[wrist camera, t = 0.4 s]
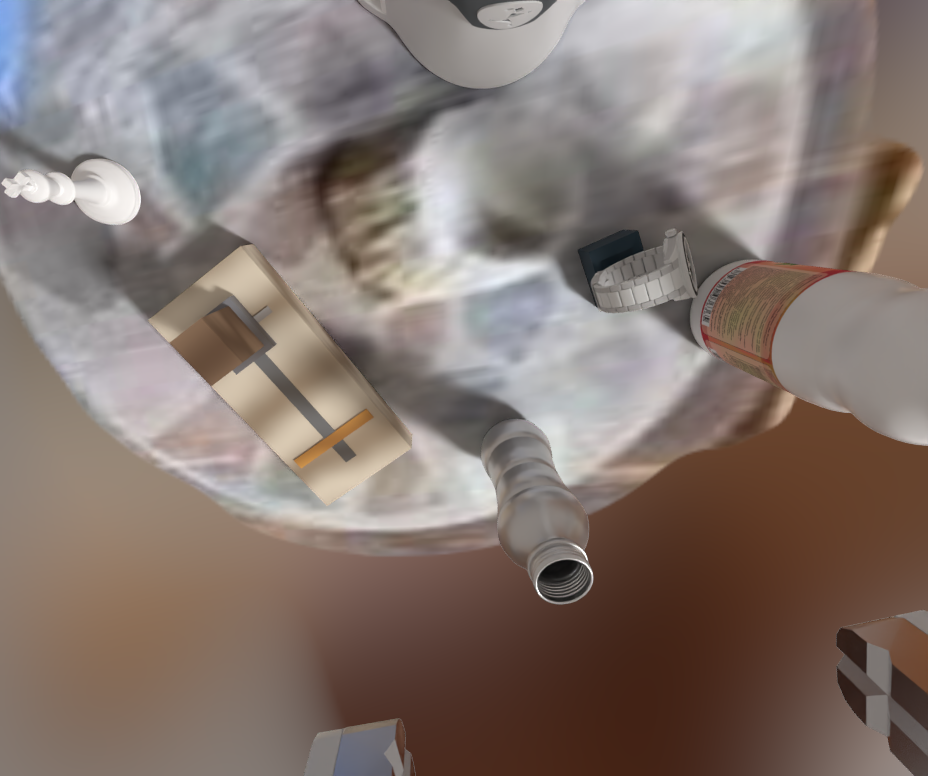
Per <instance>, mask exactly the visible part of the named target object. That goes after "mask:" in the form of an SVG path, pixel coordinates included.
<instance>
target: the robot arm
mask: <svg viewBox="0 0 928 776" xmlns="http://www.w3.org/2000/svg"><path fill="white" fill-rule="evenodd" d="M585 1H586V0H358V2H359V3H360V4H361V5H362V6H363V7H365V8H366V9H367V10H368V11H370V12H371V13H373V14H374V15H376V16H377V17H379V18H381V19H382V20H384V21H385V22H387V23H389V25H390V26H391V27H392V28H393V29H394V30H395V31H396V33H397V34H398V35H399V37H400V38H401V40H402V41H403V42H404V44H405V45H406V47H407V48H408V49H409V51H410V52H411V53H412V54H413V56H414V57H415V58H416V59H417V60H418V61H419V62H420V63H421V64H422V65H423V66H425V67H426V68H427V69H428V70H429V71H431V72H432V73H434V74H435V75H437V76H438V77H440V78H442V79H444V80H446V81H448V82H450V83H453V84H455V85H459V86H462V87H467V88H475V89H489V88H496V87H501V86H504V85H507V84H510V83H513V82H515V81H517V80H519V79H521V78H523V77H524V76H526V75H528V74H529V73H530V72H532V71H533V70H534V69H536V68H537V67H538V66H539V65H540V64H541V63H542V62H543V61H544V60H545V59H546V58H547V57H548V56H549V54H550V53H551V52H552V51H553V49H554V48H555V46H556V45H557V43H558V42H559V40H560V38H561V37H562V35H563V33H564V31H565V29H566V27H567V25H568V23H569V21H570V19H571V17H572V15H573V14H574V12H575V11H576V9H577V8H578V7H579V6H580V5H581V4H582V3H584V2H585ZM836 646H837V647H838V648H839V649H840V650H841V651H842V652H843V653H844V656H843V658H842V659H841V660H840V662H839V664H838V665H837V682H838V685H839V687H840V689H841V692H842V694H843V696H844V699H845V701H846V702H847V703H848V705H849V706H850V708H851V709H852V711H853V712H854V713H855V714H856V715H857V717H858V718H859V719H860V720H861V721H862V722H863V723H864V724H865V725H866V726H867V727H869V728H871V729H873V730H875V731H877V732H879V733H881V734H883V735H885V736H887V738H888V743H889V748H890V751H891V752H892V753H893V754H894V755H895V756H896V758H897V759H898V760H899V761H900V762H901V763H902V764H903V765H904V766H905V767H906V768H907V769H908V770H909V771H910V772H911V773H912V774H913V775H914V776H928V612H927V611H924V610H921V611H916V612H911V613H907V614H902V615H897V616H894V617H888V618H883V619H879V620H874V621H869V622H864V623H860V624H855V625H851V626H846V627H842V628H840V629H839V631H838V633H837V634H836ZM405 737H406V733H405V730H404V727H403V723H402V720H401V719H392V720H387V721H381V722H375V723H369V724H364V725H358V726H352V727H347V728H344V729H339V730H333V731H327V732H321V733H318V734H317V736H316V738H315V739H314V741H313V743H312V746H311V750H310V754H309V757H308V761H307V765H306V769H305V772H304V776H416V775H415V769H414V763H413V759H412V756H411V753H409V752H408V751H407V750H405Z"/></svg>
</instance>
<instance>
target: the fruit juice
mask: <svg viewBox="0 0 928 776" xmlns="http://www.w3.org/2000/svg"><path fill="white" fill-rule="evenodd" d="M690 326H691V330H692V333H693V336H694V338H695V339H696V341H697V343H698V344H699V345H700V346H701V347H702V348H703V349H704V350H705V351H706V352H708V353H709V354H710V355H712V356H714V357H716V358H718V359H720V360H722V361H724V362H726V363H728V364H730V365H732V366H734V367H736V368H739V369H741V370H743V371H745V372H747V373H749V374H751V375H753V376H755V377H757V378H760V379H762V380H764V381H766V382H768V383H770V384H772V385H774V386H776V387H779V388H781V389H783V390H785V391H787V392H789V393H791V394H793V395H795V396H797V397H799V398H801V399H803V400H805V401H808V402H810V403H813V404H815V405H818V406H821V407H823V408H826V409H830V410H834V411H838V412H846V413H852V414H853V415H854V416H855V417H856V418H857V419H859V420H860V421H861V422H862V423H864V424H865V425H866V426H868V427H869V428H871V429H873V430H874V431H876V432H878V433H880V434H883V435H885V436H888V437H890V438H893V439H896V440H899V441H903V442H906V443H911V444H917V445H928V288H925V289H920V288H919V287H917V286H915V285H913V284H911V283H909V282H906V281H903V280H900V279H896V278H892V277H889V276H883V275H879V274H873V273H867V272H856V271H847V270H839V269H830V268H822V267H814V266H806V265H798V264H790V263H781V262H773V261H765V260H756V259H752V260H741V261H736V262H733V263H730V264H727V265H725V266H723V267H721V268H719V269H718V270H716V271H715V272H714V273H712V274H711V275H710V276H709V277H708V278H707V279H706V280H705V281H704V282H703V283H702V285H701V286H700V288H699V289H698V295H697V298H694V299H693V302H692V305H691V310H690Z"/></svg>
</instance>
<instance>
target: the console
mask: <svg viewBox="0 0 928 776" xmlns="http://www.w3.org/2000/svg"><path fill="white" fill-rule="evenodd" d="M233 295H234V296H235V297H236V298H237V299H238V300H239V302H240V303H241V304H242V305H243V306H244V307H245V308H246V310H247V311H248V312H249V313H250V314H251V315H252V316H253V317H254V319H255V320H256V321H257V322H258V323H259V324H260V325H261V327H262V328H263V329H264V330H265V331H266V332H267V333H268V334H269V336H270V337H271V338H272V339H273V340H274V341H275V342H276V343H277V344H276V345H275V346H274V347H273V348H271V349H270V350H269V351H267V352H266V353H265V354H263V355H262V356H261V357H259V358H258V359H257V360H255V361H254V362H253V363H251V364H250V365H249V366H247V367H246V368H245V369H243V370H242V371H241V372H240V373H238V374H237V375H236V374H235V373H234V372H233V371H231V372H230V373H228V374H227V375H226V376H224V377H223V378H222V379H220V380H219V381H218V382H216V383H215V384H214V385H212V386H211V387H212V388H213V389H214V390H215V391H216V392H217V393H218V394H219V395H220V396H221V397H222V398H223V399H224V400H225V401H226V402H227V403H228V404H229V405H230V406H231V407H232V408H233V409H234V410H235V411H236V412H237V413H238V414H239V415H240V416H241V417H242V419H243V420H244V421H245V422H246V423H247V424H248V425H249V426H250V427H251V428H252V429H253V430H254V431H255V432H256V433H257V434H258V435H259V436H260V437H261V438H262V439H263V440H264V441H265V442H266V443H267V444H268V445H269V446H270V447H271V448H272V449H273V451H274V452H275V453H276V454H277V455H278V456H279V457H280V458H281V459H282V460H283V461H284V462H285V463H286V464H287V465H288V466H289V467H290V468H291V469H292V470H293V471H294V472H295V473H296V474H297V475H298V476H299V477H300V478H301V479H302V480H303V482H304V483H305V484H306V485H307V486H308V487H309V488H310V489H311V490H312V491H313V492H314V493H315V494H316V495H317V496H318V497H319V498H320V499H321V500H322V501H323V502H324V503H325V504H326V505H327V506H328V505H329V504H331V503H332V502H334V501H335V500H337V499H338V498H340V497H341V496H343V495H344V494H345V493H347V492H348V491H350V490H351V489H353V488H354V487H356V486H357V485H359V484H360V483H361V482H363V481H364V480H366V479H367V478H369V477H370V476H372V475H373V474H375V473H376V472H378V471H379V470H380V469H382V468H383V467H385V466H386V465H388V464H389V463H391V462H392V461H394V460H395V459H396V458H398V457H399V456H401V455H402V454H404V453H405V452H407V451H408V450H410V449H411V448H412V434H411V432H410V431H409V430H408V429H407V428H406V426H405V425H404V424H403V423H402V422H401V420H400V419H399V418H398V417H397V416H396V414H395V413H394V412H393V411H392V410H391V408H390V407H389V406H388V405H387V404H386V402H385V401H384V400H383V399H382V398H381V396H380V395H379V394H378V393H377V392H376V391H375V389H374V388H373V387H372V386H371V385H370V383H369V382H368V381H367V380H366V379H365V377H364V376H363V375H362V374H361V373H360V371H359V370H358V369H357V368H356V367H355V365H354V364H353V363H352V362H351V361H350V359H349V358H348V357H347V356H346V355H345V353H344V352H343V351H342V350H341V349H340V347H339V346H338V345H337V344H336V343H335V341H334V340H333V339H332V338H331V337H330V335H329V334H328V333H327V332H326V331H325V329H324V328H323V327H322V326H321V325H320V323H319V322H318V321H317V320H316V319H315V317H314V316H313V315H312V314H311V313H310V311H309V310H308V309H307V308H306V307H305V305H304V304H303V303H302V302H301V301H300V300H299V298H298V297H297V296H296V295H295V294H294V292H293V291H292V290H291V289H290V288H289V286H288V285H287V284H286V283H285V282H284V280H283V279H282V278H281V277H280V276H279V274H278V273H277V272H276V271H275V270H274V268H273V267H272V266H271V265H270V264H269V262H268V261H267V260H266V259H265V258H264V256H263V255H262V254H261V253H260V252H259V250H258V249H257V248H256V247H255V246H254V244H251V245H244V246H240V247H239V248H237V249H236V250H235V251H234V252H232V253H231V254H230V255H229V256H227V257H226V258H225V259H224V260H222V261H221V262H220V263H219V264H217V265H216V266H215V267H214V268H212V269H211V270H210V271H209V272H207V273H206V274H205V275H204V276H202V277H201V278H200V279H199V280H197V281H196V282H195V283H194V284H192V285H191V286H190V287H189V288H187V289H186V290H185V291H184V292H183V293H181V294H180V295H179V296H178V297H176V298H175V299H174V300H173V301H171V302H170V303H169V304H168V305H166V306H165V307H164V308H163V309H161V310H160V311H159V312H158V313H156V314H155V315H154V316H153V317H151V318H150V319H149V320H148V321H149V323H150V324H151V325H152V326H153V327H154V328H155V329H156V330H157V331H158V332H159V333H160V334H161V335H162V336H163V337H164V338H165V339H166V340H167V341H168V342H169V343H170V342H171V341H172V340H174V339H175V338H176V337H177V336H179V335H180V334H181V333H183V332H184V331H185V330H186V329H188V328H189V327H190V326H191V325H193V324H194V323H195V322H197V321H198V320H199V319H200V318H202V317H204V316H205V315H207V314H208V313H209V312H210V311H212V310H213V309H214V308H216V307H217V306H218V305H219V304H221V303H222V302H223V301H224V300H226V299H227V298H228V297H230V296H233Z"/></svg>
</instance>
